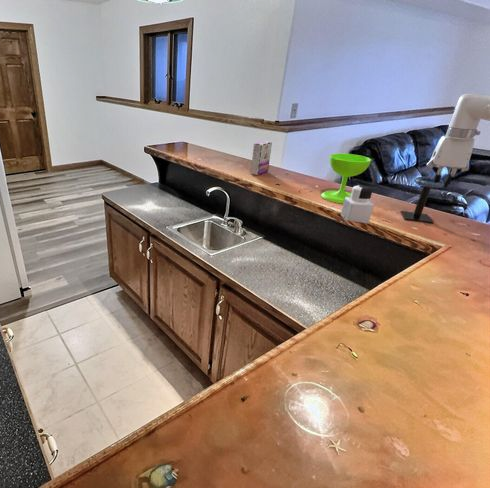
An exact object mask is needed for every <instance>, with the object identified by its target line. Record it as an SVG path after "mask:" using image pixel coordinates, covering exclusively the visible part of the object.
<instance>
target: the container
mask: <svg viewBox="0 0 490 488" xmlns="http://www.w3.org/2000/svg"><path fill="white" fill-rule="evenodd" d="M373 191H374V190H373V189H372V188H371V187H370V186H368V185H361V184H360V185H359V184H358V185H354V186H353V187H352V190H351V192H350V193H351V196H350V197H345V200H344V204H342V207H341V211H340V212H341V213H340V217H342V219H343V220H344V221H346V222H347V221H348V222H355V223H363V224H369V223H370V221H371V217H372V214H373V210H374V207H375V204H374V203H373V202H371V197H372V194H373Z"/></svg>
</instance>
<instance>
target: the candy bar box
mask: <svg viewBox="0 0 490 488" xmlns="http://www.w3.org/2000/svg"><path fill="white" fill-rule="evenodd" d="M272 145H273V142H272V141H268V140H263V141H259V142H256V143H253V148H252V149H253V150H252V158H251V167H250V175H252V174H254V175H253V176H257V175H258V176H261V175H263V174H266V173H269V169H270V168H269V167H270V159H271V153H272Z"/></svg>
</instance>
